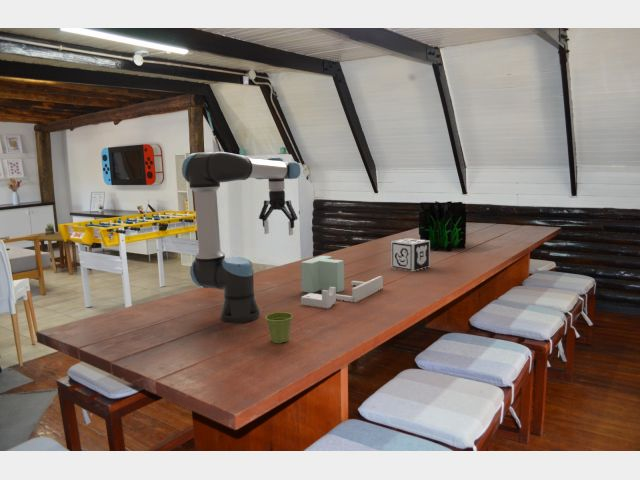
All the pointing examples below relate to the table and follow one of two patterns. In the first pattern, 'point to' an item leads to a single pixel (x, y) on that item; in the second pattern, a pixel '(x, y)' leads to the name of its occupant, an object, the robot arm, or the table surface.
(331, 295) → the bracket
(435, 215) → the decorative plant
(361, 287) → the white u channel
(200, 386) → the table surface
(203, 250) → the robot arm
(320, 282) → the t block
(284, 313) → the plant pot
